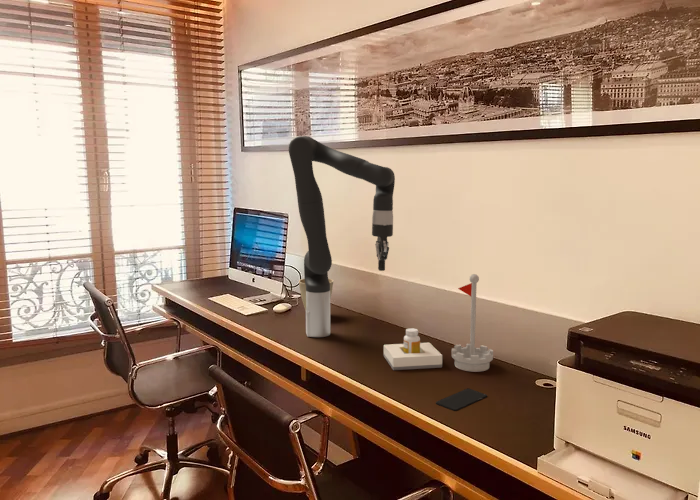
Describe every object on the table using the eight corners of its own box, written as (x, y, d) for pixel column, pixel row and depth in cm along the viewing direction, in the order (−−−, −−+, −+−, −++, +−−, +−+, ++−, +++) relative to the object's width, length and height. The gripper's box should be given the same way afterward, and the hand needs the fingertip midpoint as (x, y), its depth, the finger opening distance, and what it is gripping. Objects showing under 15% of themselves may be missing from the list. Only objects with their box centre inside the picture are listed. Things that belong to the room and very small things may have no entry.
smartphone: (488, 395, 158) (455, 410, 148) (488, 397, 158) (455, 413, 148) (468, 387, 163) (434, 401, 153) (467, 390, 163) (434, 404, 153)
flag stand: (497, 363, 186) (500, 272, 181) (486, 375, 174) (489, 279, 170) (458, 357, 192) (460, 269, 188) (445, 368, 180) (447, 275, 176)
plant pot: (292, 316, 246) (291, 280, 244) (318, 310, 256) (318, 276, 254) (313, 323, 235) (313, 285, 233) (340, 317, 245) (340, 280, 243)
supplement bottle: (421, 356, 188) (421, 328, 187) (417, 361, 183) (418, 332, 182) (405, 355, 190) (406, 327, 189) (401, 360, 185) (401, 331, 184)
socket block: (393, 370, 179) (393, 357, 178) (383, 356, 192) (383, 344, 192) (442, 367, 181) (442, 355, 181) (429, 353, 195) (429, 342, 194)
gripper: (369, 221, 210) (368, 267, 212) (375, 224, 197) (374, 273, 199) (388, 221, 211) (387, 267, 213) (397, 224, 198) (395, 273, 200)
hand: (381, 270), depth 206 cm, fingers closed
